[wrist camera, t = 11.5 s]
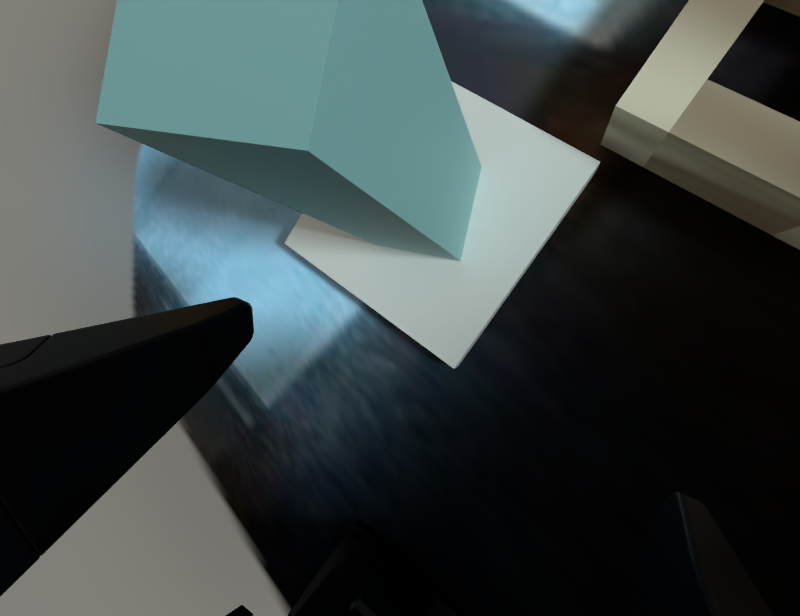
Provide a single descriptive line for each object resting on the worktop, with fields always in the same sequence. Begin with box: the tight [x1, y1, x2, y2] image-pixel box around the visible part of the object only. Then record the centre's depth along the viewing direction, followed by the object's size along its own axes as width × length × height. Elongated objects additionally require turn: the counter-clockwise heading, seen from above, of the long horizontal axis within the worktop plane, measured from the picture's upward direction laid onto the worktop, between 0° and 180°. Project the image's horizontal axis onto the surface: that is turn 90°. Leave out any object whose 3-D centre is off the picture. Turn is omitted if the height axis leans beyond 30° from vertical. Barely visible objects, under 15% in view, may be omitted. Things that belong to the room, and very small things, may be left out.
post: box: [96, 0, 481, 261], centre depth 13 cm, size 4×4×13 cm
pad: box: [285, 81, 600, 369], centre depth 19 cm, size 10×10×1 cm
